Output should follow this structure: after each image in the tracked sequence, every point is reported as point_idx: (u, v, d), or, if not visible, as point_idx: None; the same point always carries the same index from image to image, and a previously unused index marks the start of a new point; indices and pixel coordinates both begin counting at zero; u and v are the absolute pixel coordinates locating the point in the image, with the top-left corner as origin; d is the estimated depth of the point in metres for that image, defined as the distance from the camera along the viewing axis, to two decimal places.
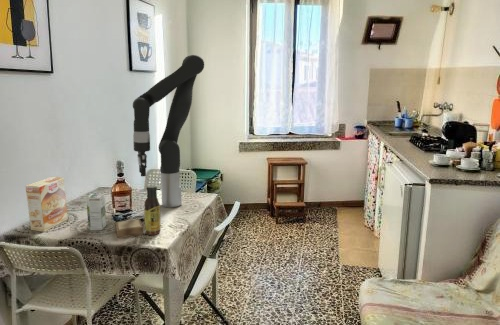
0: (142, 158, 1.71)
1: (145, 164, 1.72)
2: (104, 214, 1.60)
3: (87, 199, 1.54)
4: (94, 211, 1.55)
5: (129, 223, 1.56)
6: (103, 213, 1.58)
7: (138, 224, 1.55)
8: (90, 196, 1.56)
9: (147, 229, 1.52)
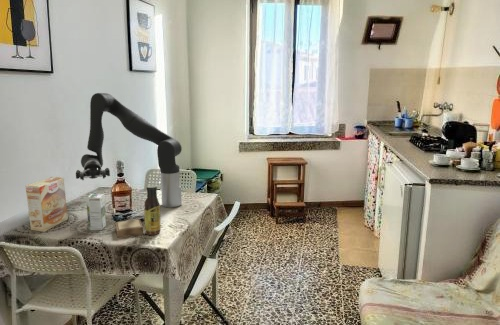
0: None
1: (76, 173, 1.68)
2: (104, 214, 1.60)
3: (87, 199, 1.54)
4: (94, 211, 1.55)
5: (129, 223, 1.56)
6: (103, 213, 1.58)
7: (138, 224, 1.55)
8: (90, 196, 1.56)
9: (147, 229, 1.52)
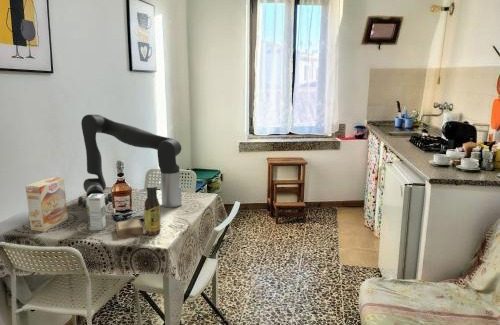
0: None
1: (78, 200, 1.66)
2: (104, 214, 1.60)
3: (87, 199, 1.54)
4: (94, 211, 1.55)
5: (129, 223, 1.56)
6: (103, 213, 1.58)
7: (138, 224, 1.55)
8: (90, 196, 1.56)
9: (147, 229, 1.52)
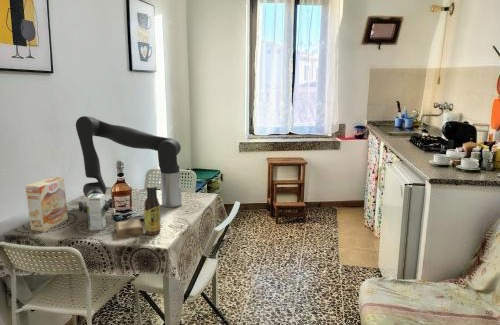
0: None
1: None
2: (104, 214, 1.60)
3: (87, 199, 1.54)
4: (94, 211, 1.55)
5: (129, 223, 1.56)
6: (103, 213, 1.58)
7: (138, 224, 1.55)
8: (89, 196, 1.56)
9: (147, 229, 1.52)
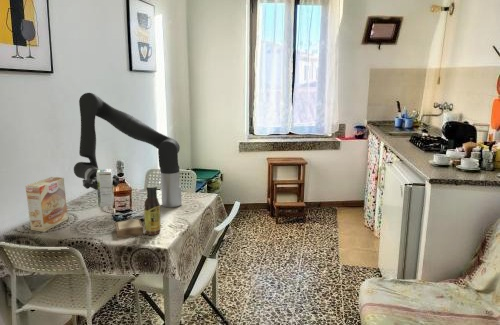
0: (83, 184, 1.54)
1: (85, 183, 1.52)
2: None
3: (97, 174, 1.49)
4: (105, 186, 1.50)
5: (129, 223, 1.56)
6: (112, 188, 1.54)
7: (138, 224, 1.55)
8: (98, 171, 1.51)
9: (147, 229, 1.52)
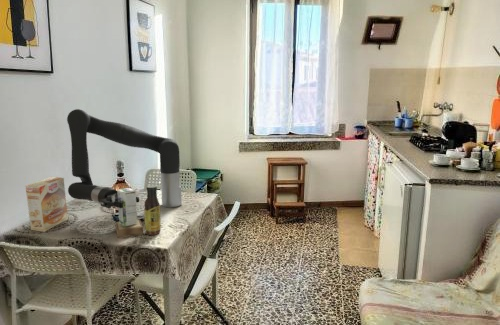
0: (102, 204, 1.51)
1: (106, 202, 1.49)
2: None
3: (123, 193, 1.49)
4: (130, 205, 1.52)
5: None
6: None
7: (138, 224, 1.55)
8: (122, 190, 1.51)
9: (147, 229, 1.52)
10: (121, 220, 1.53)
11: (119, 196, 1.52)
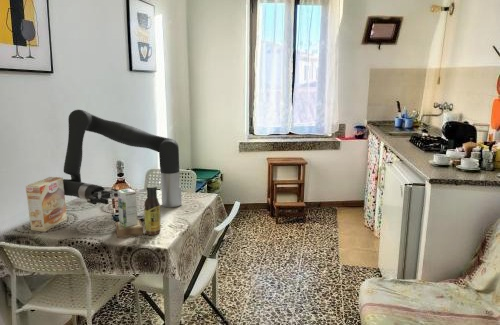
0: (88, 200, 1.55)
1: (92, 199, 1.54)
2: None
3: (124, 195, 1.49)
4: (130, 206, 1.51)
5: None
6: None
7: (138, 224, 1.55)
8: (122, 191, 1.51)
9: (147, 229, 1.52)
10: (121, 221, 1.53)
11: (120, 197, 1.51)
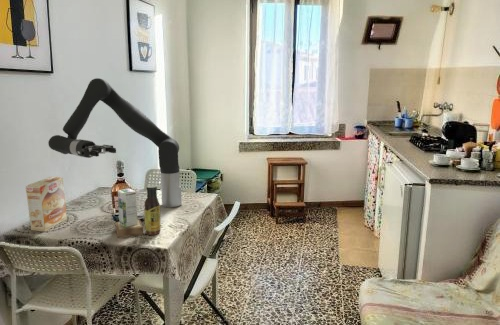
0: (79, 153, 1.56)
1: (82, 151, 1.54)
2: None
3: (124, 195, 1.49)
4: (130, 206, 1.51)
5: None
6: None
7: (138, 224, 1.55)
8: (122, 191, 1.51)
9: (147, 229, 1.52)
10: (121, 221, 1.53)
11: (120, 197, 1.51)
